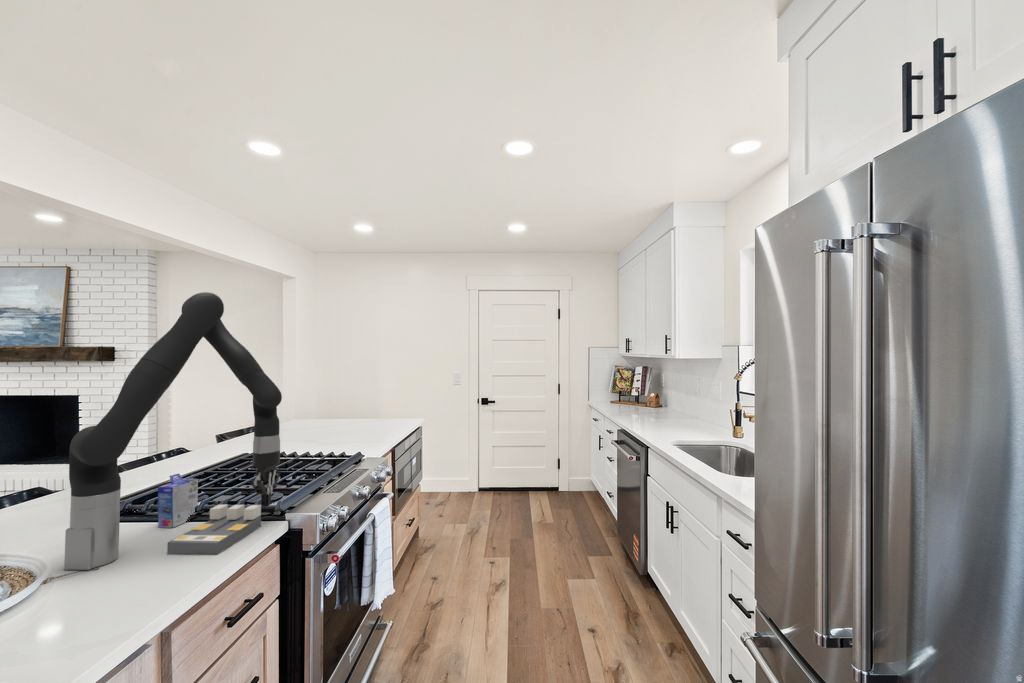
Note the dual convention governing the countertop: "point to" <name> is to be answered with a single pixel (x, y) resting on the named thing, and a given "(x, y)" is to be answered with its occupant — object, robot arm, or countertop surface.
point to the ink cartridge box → (177, 501)
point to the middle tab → (235, 512)
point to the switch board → (213, 536)
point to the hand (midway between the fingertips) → (265, 505)
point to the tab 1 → (218, 511)
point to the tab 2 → (252, 512)
